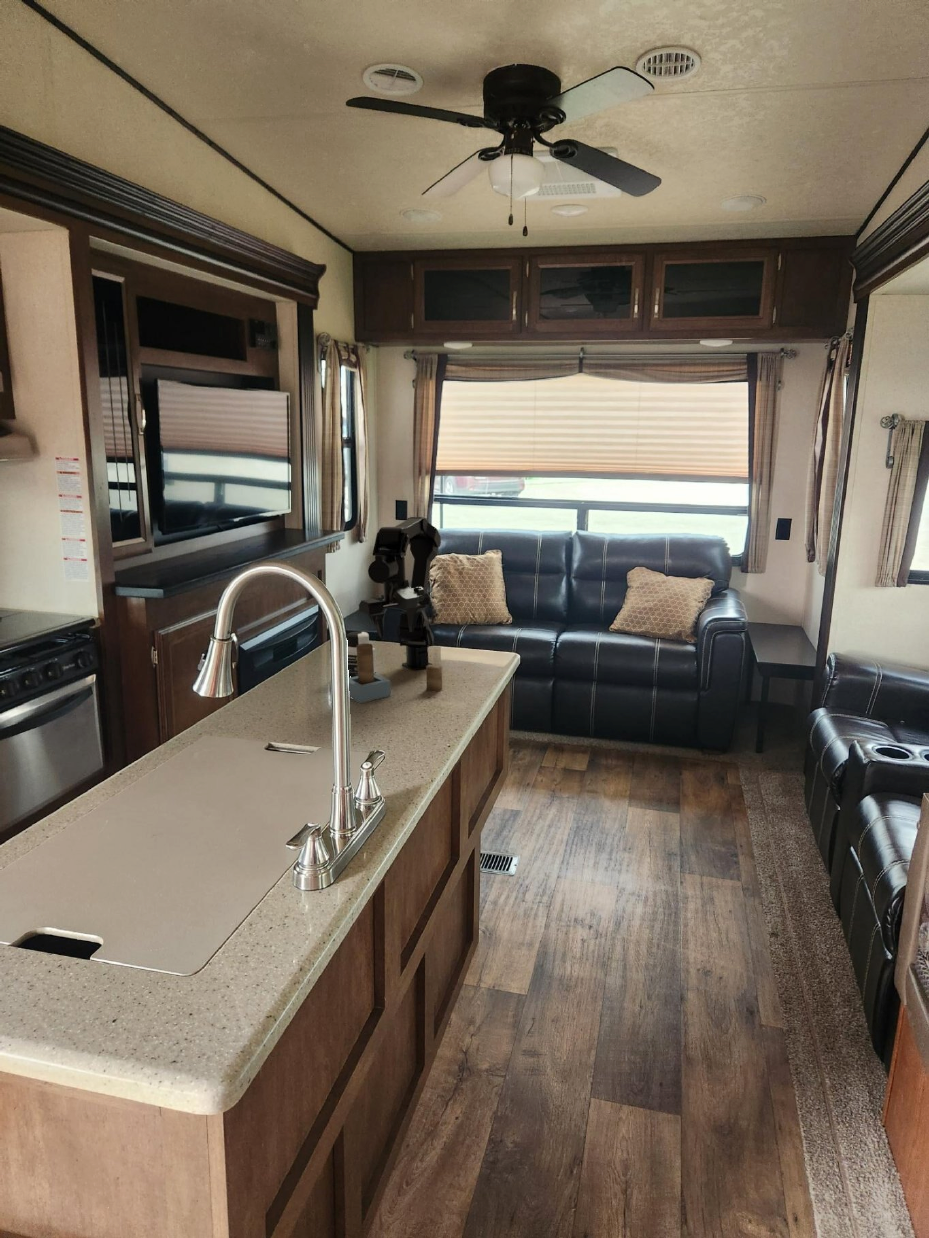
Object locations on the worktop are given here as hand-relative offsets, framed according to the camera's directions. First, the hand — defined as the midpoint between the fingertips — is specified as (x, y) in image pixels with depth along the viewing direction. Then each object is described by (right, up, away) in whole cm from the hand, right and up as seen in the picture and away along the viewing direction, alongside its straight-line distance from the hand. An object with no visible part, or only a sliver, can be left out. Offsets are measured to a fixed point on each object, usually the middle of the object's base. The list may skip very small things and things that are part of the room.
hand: (396, 634), depth 218 cm
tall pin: (-7, -15, -7) cm, 18 cm away
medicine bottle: (-11, -12, +10) cm, 19 cm away
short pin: (+10, -14, -3) cm, 17 cm away
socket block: (-7, -15, -7) cm, 18 cm away
